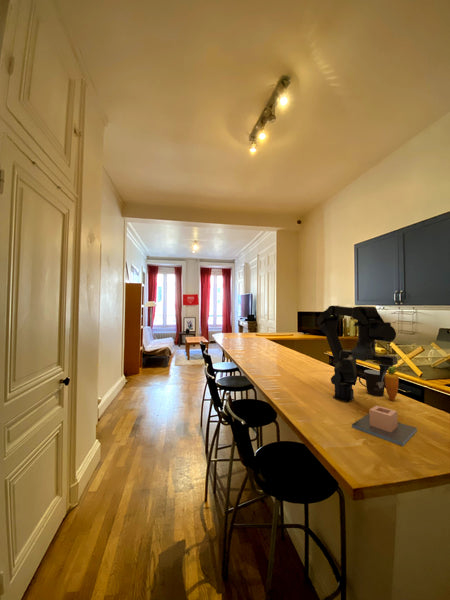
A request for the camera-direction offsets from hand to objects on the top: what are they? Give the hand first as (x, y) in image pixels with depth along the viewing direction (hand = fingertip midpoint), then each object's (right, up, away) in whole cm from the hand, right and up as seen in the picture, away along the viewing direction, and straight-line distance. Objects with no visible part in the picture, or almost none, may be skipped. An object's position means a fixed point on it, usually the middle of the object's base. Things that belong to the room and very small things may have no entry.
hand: (367, 379), depth 93 cm
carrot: (+17, -13, +10) cm, 24 cm away
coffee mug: (+13, -13, +19) cm, 27 cm away
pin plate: (-3, -11, -14) cm, 19 cm away
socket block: (-3, -10, -14) cm, 18 cm away
